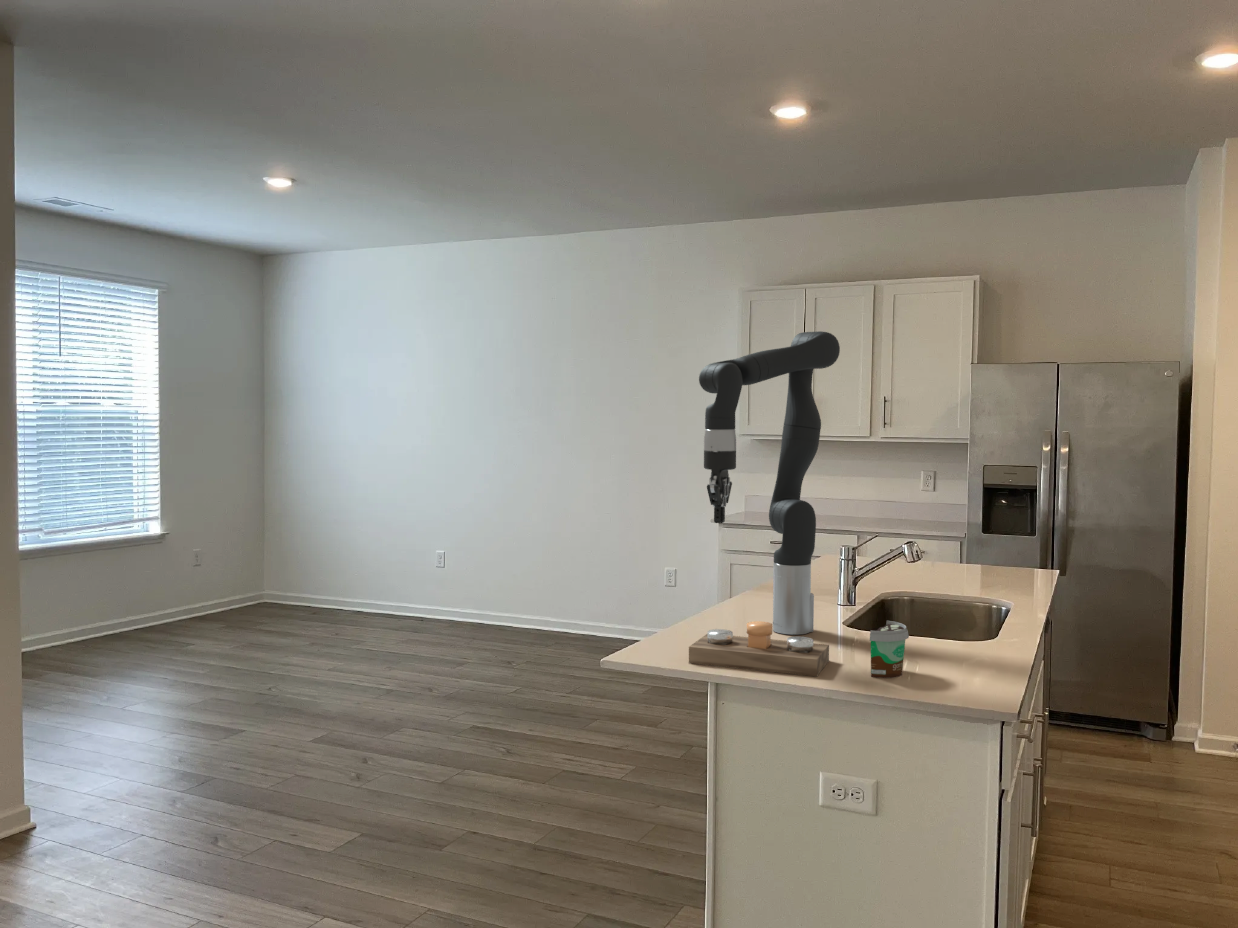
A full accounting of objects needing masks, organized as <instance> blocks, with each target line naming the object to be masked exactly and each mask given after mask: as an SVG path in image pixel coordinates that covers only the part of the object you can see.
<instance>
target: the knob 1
mask: <svg viewBox="0 0 1238 928" xmlns="http://www.w3.org/2000/svg"><path fill="white" fill-rule="evenodd" d="M706 634H707V641H708V642H709V643H710V644H721V645H728V644H729V643H731V642H733V636H734V635H733V634H734V632H733V631H732V630H730V629H721V628H715V629H709V630H707V633H706Z"/></svg>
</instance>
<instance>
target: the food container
mask: <svg viewBox="0 0 1238 928" xmlns="http://www.w3.org/2000/svg"><path fill="white" fill-rule="evenodd" d="M909 638H910V636H909V631H908V628H907V626H906V625H905V624H903V623H901V622H898V621H894V620H893V621H892V620H886V624H885V625H884V626H880V627H879V628H877V630H871V629H870V633H869V641H870V677H871V678H876V679H877V678H879V679H892V678H898V677H900V676H902V675H903V669H904V660H905V659H904V658H905V649H906V648H905V647H906V640H907V639H909Z"/></svg>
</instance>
